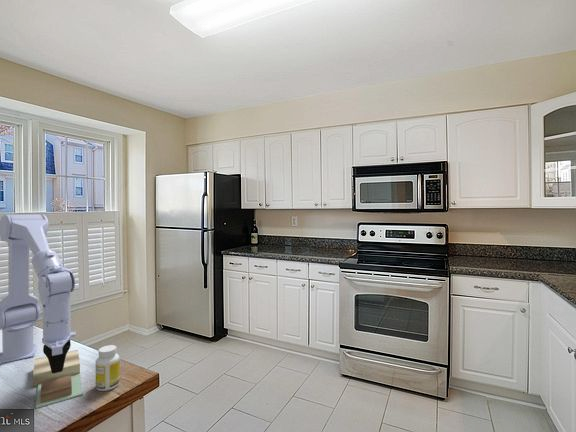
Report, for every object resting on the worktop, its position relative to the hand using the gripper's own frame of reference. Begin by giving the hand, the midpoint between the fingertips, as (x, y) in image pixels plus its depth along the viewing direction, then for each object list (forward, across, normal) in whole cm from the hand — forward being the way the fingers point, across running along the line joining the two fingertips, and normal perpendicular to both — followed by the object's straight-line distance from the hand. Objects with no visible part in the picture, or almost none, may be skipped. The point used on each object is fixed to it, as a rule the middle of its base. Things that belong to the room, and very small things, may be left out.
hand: (57, 371), depth 81 cm
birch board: (+4, +8, 0) cm, 9 cm away
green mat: (+4, -3, 0) cm, 5 cm away
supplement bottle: (+4, -7, -10) cm, 13 cm away
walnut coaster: (+1, -4, 0) cm, 4 cm away
